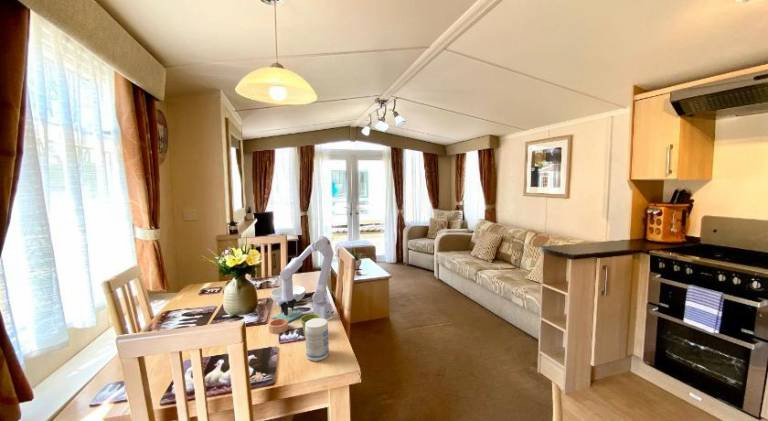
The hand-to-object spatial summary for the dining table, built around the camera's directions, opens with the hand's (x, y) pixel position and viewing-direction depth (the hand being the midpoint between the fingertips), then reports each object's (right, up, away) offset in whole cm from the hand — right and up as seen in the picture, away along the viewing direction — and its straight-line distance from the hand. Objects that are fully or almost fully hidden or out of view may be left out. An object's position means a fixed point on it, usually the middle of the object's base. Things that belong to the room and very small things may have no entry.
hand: (288, 314), depth 175 cm
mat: (0, -2, 0) cm, 2 cm away
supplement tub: (+24, -6, -38) cm, 45 cm away
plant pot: (+17, -4, -20) cm, 27 cm away
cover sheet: (0, -1, 0) cm, 1 cm away
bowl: (-1, -3, -14) cm, 15 cm away
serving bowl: (-7, 0, +24) cm, 25 cm away
